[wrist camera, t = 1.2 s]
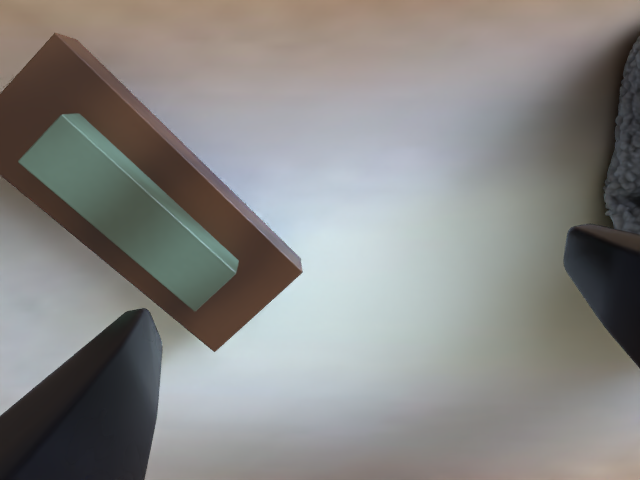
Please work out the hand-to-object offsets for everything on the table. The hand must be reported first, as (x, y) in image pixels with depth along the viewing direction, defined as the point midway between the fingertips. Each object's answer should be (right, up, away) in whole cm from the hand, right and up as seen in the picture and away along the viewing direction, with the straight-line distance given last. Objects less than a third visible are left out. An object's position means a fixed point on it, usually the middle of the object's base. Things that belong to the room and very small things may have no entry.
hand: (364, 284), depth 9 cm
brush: (-9, +3, +13) cm, 16 cm away
